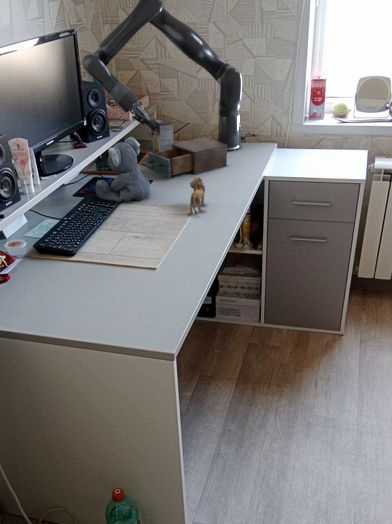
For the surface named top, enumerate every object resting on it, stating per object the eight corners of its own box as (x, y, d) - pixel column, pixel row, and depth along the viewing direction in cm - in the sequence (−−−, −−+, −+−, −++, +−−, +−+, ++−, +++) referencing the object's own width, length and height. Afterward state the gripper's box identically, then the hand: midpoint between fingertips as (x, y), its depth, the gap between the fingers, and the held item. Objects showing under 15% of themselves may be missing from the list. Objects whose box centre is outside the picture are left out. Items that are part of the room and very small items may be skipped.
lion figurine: (190, 200, 199) (189, 175, 194) (205, 200, 199) (204, 175, 194) (189, 216, 187) (188, 189, 182) (205, 216, 187) (205, 189, 182)
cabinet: (194, 174, 224) (194, 151, 219) (172, 165, 234) (172, 144, 229) (226, 165, 233) (226, 144, 228) (204, 158, 242) (204, 137, 237)
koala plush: (121, 185, 215) (116, 131, 204) (161, 192, 208) (158, 137, 196) (93, 199, 203) (86, 143, 192) (134, 207, 195) (129, 150, 184)
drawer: (156, 181, 215) (155, 163, 211) (137, 172, 224) (135, 155, 220) (200, 169, 226) (200, 152, 222) (180, 162, 235) (179, 145, 231)
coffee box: (152, 158, 243) (150, 119, 233) (166, 156, 245) (164, 117, 236) (160, 164, 236) (158, 123, 227) (174, 162, 238) (173, 122, 229)
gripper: (123, 92, 217) (156, 125, 221) (134, 87, 228) (166, 119, 231) (112, 107, 221) (144, 139, 225) (124, 101, 232) (155, 132, 236)
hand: (155, 129), depth 228 cm, fingers closed
